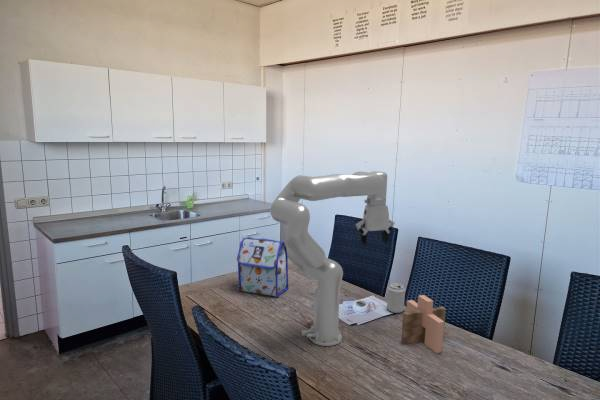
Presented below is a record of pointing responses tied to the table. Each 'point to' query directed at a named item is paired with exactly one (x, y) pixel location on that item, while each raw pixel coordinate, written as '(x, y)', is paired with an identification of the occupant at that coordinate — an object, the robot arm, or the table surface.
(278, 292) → the lunch bag
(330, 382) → the table surface
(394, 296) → the can
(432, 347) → the pink notched panel
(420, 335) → the board
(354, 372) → the table surface
